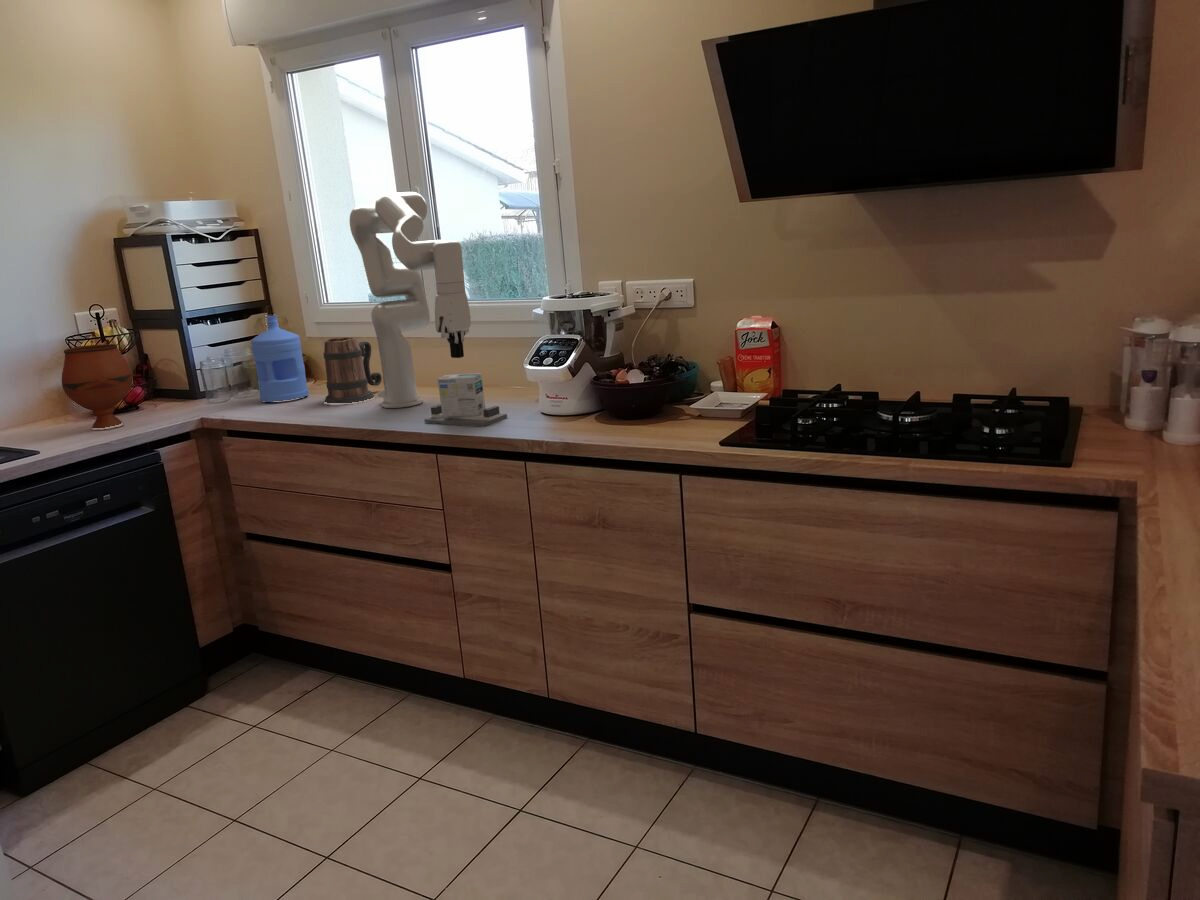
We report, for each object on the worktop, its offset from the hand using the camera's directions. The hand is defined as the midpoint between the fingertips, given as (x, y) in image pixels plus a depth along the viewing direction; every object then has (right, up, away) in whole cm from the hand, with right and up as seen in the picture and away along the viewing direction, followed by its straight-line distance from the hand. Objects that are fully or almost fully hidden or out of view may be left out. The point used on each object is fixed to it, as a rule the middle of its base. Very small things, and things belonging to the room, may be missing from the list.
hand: (457, 357), depth 235 cm
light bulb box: (+1, -16, +3) cm, 16 cm away
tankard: (-42, -8, +51) cm, 66 cm away
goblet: (-112, -18, +31) cm, 118 cm away
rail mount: (+2, -17, +4) cm, 18 cm away
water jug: (-68, -8, +59) cm, 90 cm away
